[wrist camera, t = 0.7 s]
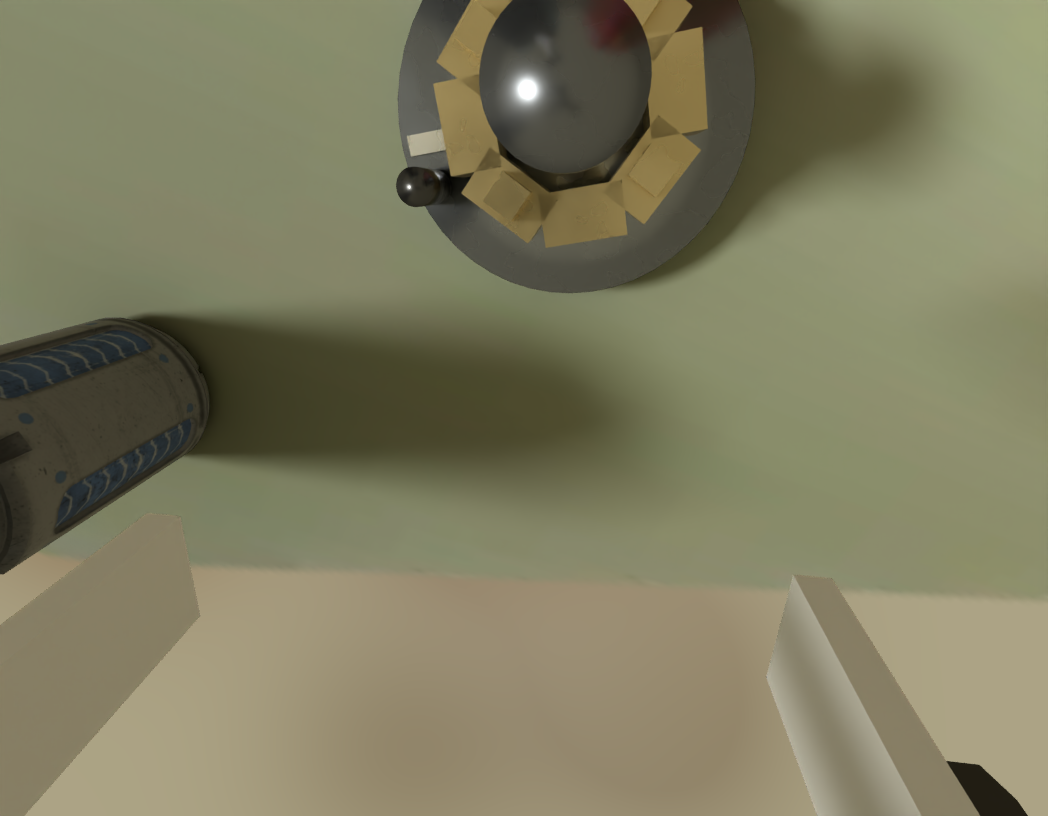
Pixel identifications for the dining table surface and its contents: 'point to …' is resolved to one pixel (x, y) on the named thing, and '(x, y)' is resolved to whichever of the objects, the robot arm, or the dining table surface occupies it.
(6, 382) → the beverage bottle
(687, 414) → the dining table surface
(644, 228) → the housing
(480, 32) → the tan brick ring
